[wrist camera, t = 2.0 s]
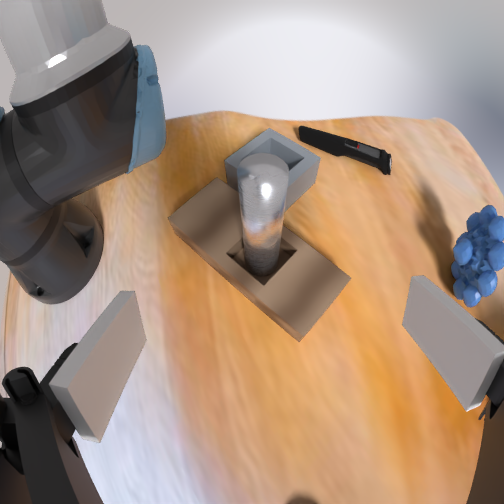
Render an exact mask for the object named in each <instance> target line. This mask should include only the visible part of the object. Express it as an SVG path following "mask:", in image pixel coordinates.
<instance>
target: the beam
mask: <svg viewBox="0 0 504 504" xmlns="http://www.w3.org/2000/svg"><path fill="white" fill-rule="evenodd" d="M168 219H169V221H170V223H171V226H172V228H173V230H174V232H175V233H176V234H177V235H178V236H179V237H180V238H181V239H182V240H183V241H184V242H185V243H186V244H188V245H189V246H190V247H191V248H192V249H193V250H194V251H195V252H196V253H197V254H198V255H200V256H201V257H202V258H203V259H204V260H205V261H206V262H207V263H208V264H210V265H211V266H212V267H213V268H214V269H215V270H216V271H217V272H218V273H220V274H221V275H222V276H223V277H224V278H225V279H226V280H227V281H229V282H230V283H231V284H232V285H233V286H234V287H235V288H236V289H238V290H239V291H240V292H241V293H242V294H243V295H244V296H246V297H247V298H248V299H249V300H250V301H251V302H252V303H254V304H255V305H256V306H257V307H258V308H259V309H261V310H262V311H263V312H264V313H265V314H266V315H267V316H269V317H270V318H271V319H272V320H273V321H275V322H276V323H277V324H278V325H279V326H280V327H282V328H283V329H284V330H285V331H286V332H287V333H289V334H290V335H291V336H292V337H293V338H295V339H296V340H297V341H298V342H300V341H301V340H302V338H303V337H304V336H305V335H306V334H307V333H308V331H309V330H310V329H311V328H312V327H313V325H314V324H315V323H316V322H317V321H318V319H319V318H320V317H321V316H322V315H323V313H324V312H325V311H326V310H327V309H328V307H329V306H330V305H331V304H332V302H333V301H334V300H335V299H336V297H337V296H338V295H339V293H340V292H341V291H342V290H343V288H344V287H345V286H346V284H347V283H348V282H349V281H350V279H351V277H350V276H348V275H347V274H346V273H344V272H343V271H342V270H341V269H339V268H338V267H337V266H336V265H334V264H333V263H332V262H330V261H329V260H328V259H327V258H325V257H324V256H323V255H321V254H320V253H319V252H318V251H316V250H315V249H314V248H312V247H311V246H310V245H308V244H307V243H306V242H305V241H303V240H302V239H301V238H299V237H298V236H297V235H295V234H294V233H293V232H291V231H290V230H289V229H287V228H286V227H285V226H282V234H281V241H280V249H279V256H278V263H277V267H276V269H275V271H274V272H273V273H271V274H270V275H267V276H256V275H254V274H252V273H251V272H250V271H249V270H248V269H247V267H246V262H245V252H244V241H243V231H242V220H241V209H240V198H239V193H238V192H237V191H236V190H234V189H233V188H231V187H230V186H229V185H227V184H226V183H224V182H223V181H222V180H220V179H219V178H215V179H214V180H213V181H212V182H210V183H209V184H208V185H207V186H205V187H204V188H203V189H202V190H200V191H199V192H198V193H197V194H195V195H194V196H193V197H192V198H191V199H189V200H188V201H187V202H186V203H185V204H183V205H182V206H181V207H180V208H179V209H178V210H176V211H175V212H174V213H173V214H172V215H171V216H169V217H168Z"/></svg>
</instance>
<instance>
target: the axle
mask: <svg viewBox="0 0 504 504" xmlns="http://www.w3.org/2000/svg"><path fill="white" fill-rule="evenodd" d="M237 177H238V188H239V198H240V209H241V220H242V231H243V241H244V252H245V262H246V267H247V269H248V270H249V271H250V272H251V273H252V274H254V275H256V276H267V275H270V274H271V273H273V272H274V271H275V269H276V267H277V263H278V256H279V249H280V241H281V234H282V226H283V219H284V211H285V203H286V195H287V187H288V178H289V168H288V166H287V164H286V163H285V161H284V160H282V159H281V158H280V157H278V156H276V155H273V154H269V153H257V154H253V155H250V156H248V157H246V158H245V159H243V160H242V161H241V162H240V164H239V166H238V169H237Z"/></svg>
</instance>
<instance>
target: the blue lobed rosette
mask: <svg viewBox="0 0 504 504" xmlns="http://www.w3.org/2000/svg"><path fill="white" fill-rule="evenodd" d="M467 230H468V232H465V233H463V234H462V235H461V236H460V237H459V238H458V239H457V241H456V245H455V247H454V248H453V253H454V258H455V261H454V262H453V263H452V265H451V271H452V275H453V277H454V278H455V279H456V281H455V283H454V285H453V291H454V295H455V297H456V298H457V299H459V300H462V299H463V300H464V303H465V305H466V306H467V307H473V306H476V305H477V303H478V302H479V301H480V299H481V297H482V296H483V297H487V296H489V295H491V294H492V293H493V291H494V290H495V288H496V286H497V275H496V272H495V271H499V270H500V269H502V268H503V267H504V243H503V242H502V241H503V240H504V218H503V217H502V216H497V212H496V209H495V208H494V207H493V206H492V205H487V206H485V207H484V208H483V209H482V210H481V212H480V213H478V212H475V213H474V214H472V215H471V216H470V217H469V218H468V220H467Z"/></svg>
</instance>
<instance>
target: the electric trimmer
mask: <svg viewBox="0 0 504 504" xmlns="http://www.w3.org/2000/svg"><path fill="white" fill-rule="evenodd" d="M299 135H300V139H301V141H303V142H305V143H307V144H309V145H312V146H314V147H316V148H319V149H321V150H323V151H326V152H328V153H330V154H333V155H335V156H344V155H345V156H347V157H350V158H353V159H355V160H358V161H361V162H363V163H366V164H368V165H371V166H373V167H376V168H378V169H381V170H382V171H383V174H385V175H386V174H387V173H388V174H389V175H390V172H391V163H392V159H391V154H388V153H387V152H386V151H385V150H381V149H378V148H375V147H372V146H369V145H366V144H363V143H360V142H357V141H354V140H351V139H348V138H344V137H341V136H337V135H333V134H330V133H327V132H323V131H320V130H316V129H312V128H309V127H305V126H300V127H299Z"/></svg>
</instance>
